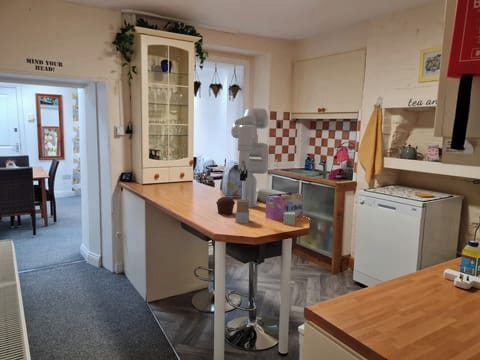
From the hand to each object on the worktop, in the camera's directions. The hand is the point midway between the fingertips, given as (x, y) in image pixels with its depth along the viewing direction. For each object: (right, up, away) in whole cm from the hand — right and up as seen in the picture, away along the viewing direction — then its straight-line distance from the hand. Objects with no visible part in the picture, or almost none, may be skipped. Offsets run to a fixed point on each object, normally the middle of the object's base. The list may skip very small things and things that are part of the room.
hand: (243, 179), depth 199 cm
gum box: (+24, -23, +17) cm, 37 cm away
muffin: (-11, -21, +20) cm, 31 cm away
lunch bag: (-7, -13, +77) cm, 78 cm away
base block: (-1, -24, +3) cm, 24 cm away
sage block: (+25, -25, +3) cm, 35 cm away
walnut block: (-1, -18, +3) cm, 18 cm away
